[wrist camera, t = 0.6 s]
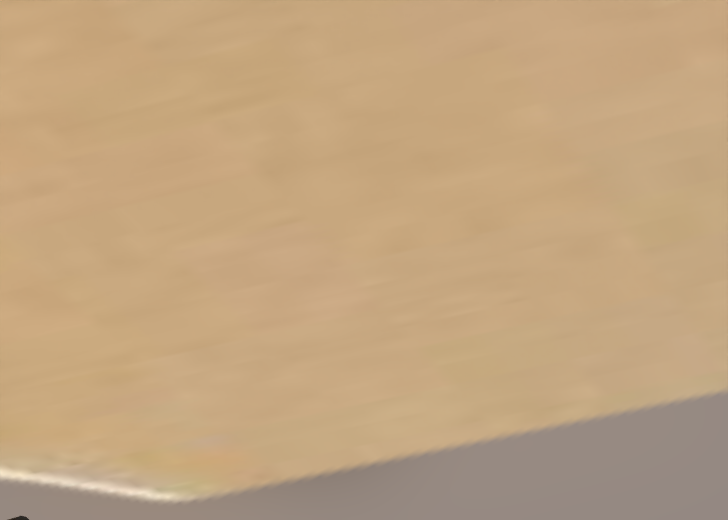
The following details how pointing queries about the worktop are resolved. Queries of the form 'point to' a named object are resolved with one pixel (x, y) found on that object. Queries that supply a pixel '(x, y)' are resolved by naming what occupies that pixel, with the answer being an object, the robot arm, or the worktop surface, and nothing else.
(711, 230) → the worktop surface
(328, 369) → the worktop surface
